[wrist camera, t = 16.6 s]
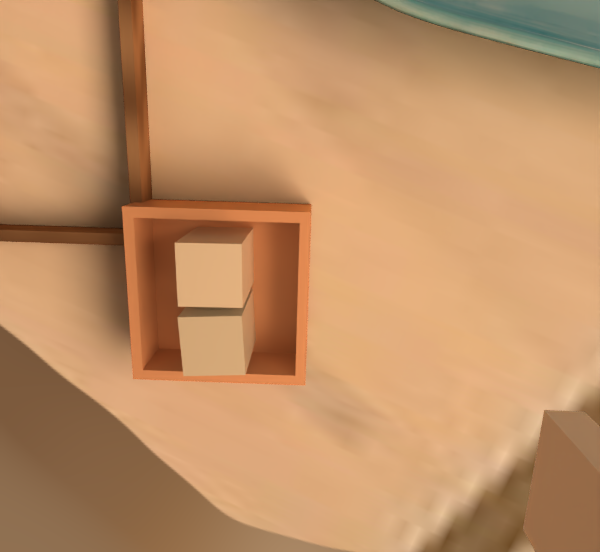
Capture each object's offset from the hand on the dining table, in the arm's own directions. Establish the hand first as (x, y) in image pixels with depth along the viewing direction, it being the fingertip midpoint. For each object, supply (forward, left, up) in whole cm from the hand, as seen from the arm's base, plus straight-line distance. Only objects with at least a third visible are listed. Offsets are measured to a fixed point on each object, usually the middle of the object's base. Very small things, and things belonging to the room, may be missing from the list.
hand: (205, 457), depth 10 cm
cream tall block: (+2, -4, -26) cm, 26 cm away
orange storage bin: (+4, -4, -27) cm, 27 cm away
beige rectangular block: (+6, -4, -26) cm, 27 cm away
